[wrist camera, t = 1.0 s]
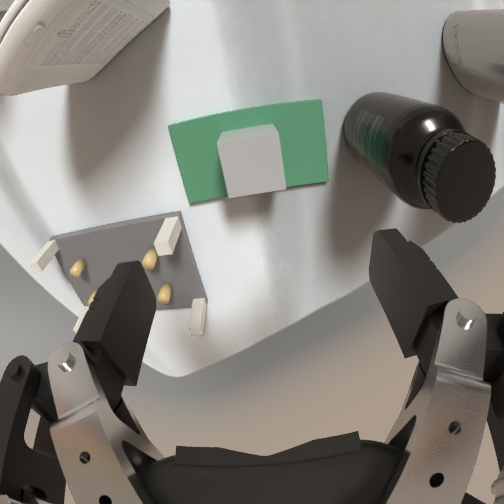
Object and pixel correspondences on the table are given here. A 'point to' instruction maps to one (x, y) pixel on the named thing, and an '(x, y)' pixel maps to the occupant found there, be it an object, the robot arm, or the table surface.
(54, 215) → the table surface
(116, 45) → the white rounded block
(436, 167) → the supplement bottle
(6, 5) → the skincare box
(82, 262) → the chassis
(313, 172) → the module board
